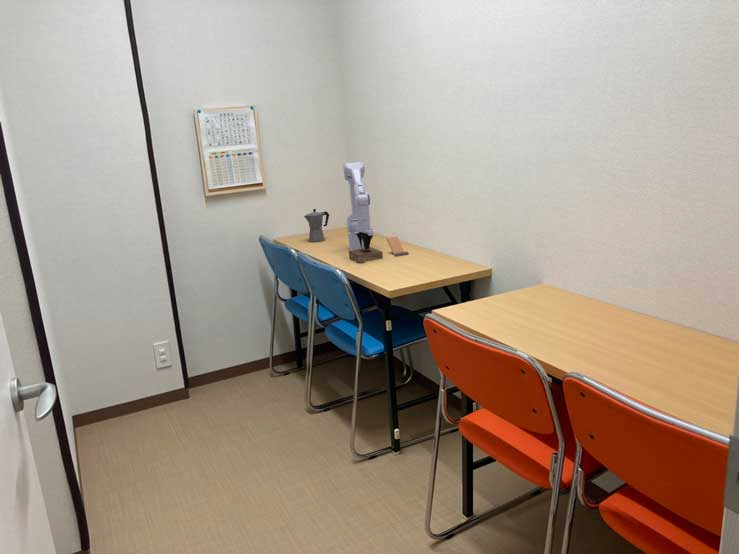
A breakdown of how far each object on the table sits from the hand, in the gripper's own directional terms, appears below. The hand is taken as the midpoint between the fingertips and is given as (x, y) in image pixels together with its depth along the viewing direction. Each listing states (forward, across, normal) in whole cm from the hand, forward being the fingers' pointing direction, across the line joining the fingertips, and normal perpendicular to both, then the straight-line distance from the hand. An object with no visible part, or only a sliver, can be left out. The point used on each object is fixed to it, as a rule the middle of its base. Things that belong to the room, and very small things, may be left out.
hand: (365, 248), depth 277 cm
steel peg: (+3, 0, 0) cm, 3 cm away
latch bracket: (+5, -6, -16) cm, 18 cm away
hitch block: (+5, 0, 0) cm, 5 cm away
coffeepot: (+6, +58, +2) cm, 58 cm away
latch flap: (+2, 0, -16) cm, 16 cm away
